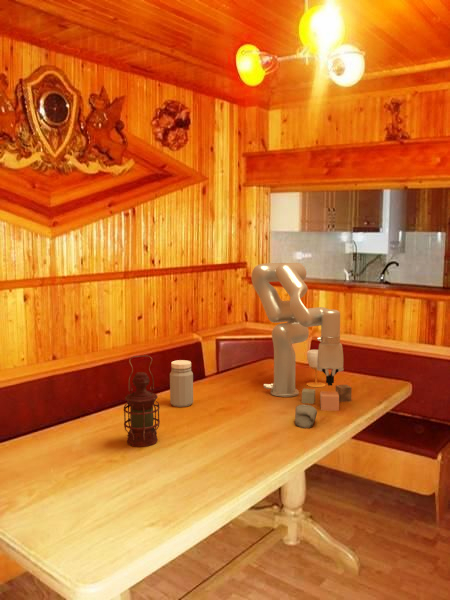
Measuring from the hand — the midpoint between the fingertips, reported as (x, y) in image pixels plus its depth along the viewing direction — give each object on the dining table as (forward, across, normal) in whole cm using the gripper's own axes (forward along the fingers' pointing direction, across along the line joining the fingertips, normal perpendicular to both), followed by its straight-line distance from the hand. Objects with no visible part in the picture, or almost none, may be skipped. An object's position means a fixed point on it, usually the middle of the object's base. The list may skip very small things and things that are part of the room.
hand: (329, 384), depth 229 cm
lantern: (+10, -67, -44) cm, 81 cm away
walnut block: (+10, +7, +12) cm, 17 cm away
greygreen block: (+10, -8, +8) cm, 15 cm away
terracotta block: (+10, 0, 0) cm, 10 cm away
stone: (+10, -11, -20) cm, 25 cm away
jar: (+10, -61, 0) cm, 62 cm away
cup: (+10, -3, +36) cm, 38 cm away
